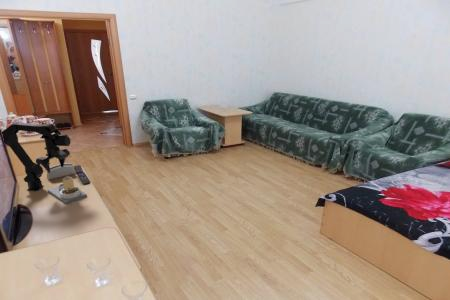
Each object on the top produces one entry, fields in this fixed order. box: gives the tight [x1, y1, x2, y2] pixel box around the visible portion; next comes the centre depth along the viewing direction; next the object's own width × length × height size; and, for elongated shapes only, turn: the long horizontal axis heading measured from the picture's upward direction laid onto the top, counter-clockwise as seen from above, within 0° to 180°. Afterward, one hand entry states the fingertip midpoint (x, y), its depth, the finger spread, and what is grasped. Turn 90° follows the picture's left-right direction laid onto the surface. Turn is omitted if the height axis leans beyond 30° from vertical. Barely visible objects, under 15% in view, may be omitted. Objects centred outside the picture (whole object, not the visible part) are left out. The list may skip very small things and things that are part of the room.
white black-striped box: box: [46, 162, 76, 180], centre depth 192 cm, size 17×5×10 cm, turn 132°
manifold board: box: [47, 183, 88, 205], centre depth 168 cm, size 23×12×5 cm, turn 53°
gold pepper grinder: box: [61, 175, 77, 194], centre depth 164 cm, size 7×7×12 cm
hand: (55, 169), depth 170 cm, fingers open, 9 cm apart
